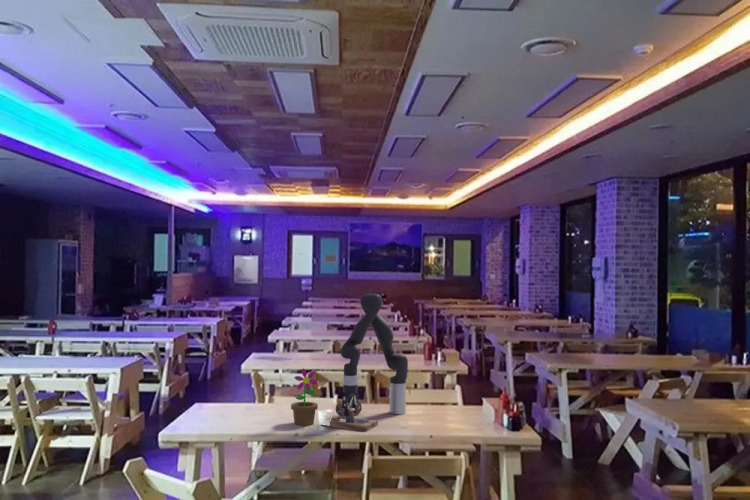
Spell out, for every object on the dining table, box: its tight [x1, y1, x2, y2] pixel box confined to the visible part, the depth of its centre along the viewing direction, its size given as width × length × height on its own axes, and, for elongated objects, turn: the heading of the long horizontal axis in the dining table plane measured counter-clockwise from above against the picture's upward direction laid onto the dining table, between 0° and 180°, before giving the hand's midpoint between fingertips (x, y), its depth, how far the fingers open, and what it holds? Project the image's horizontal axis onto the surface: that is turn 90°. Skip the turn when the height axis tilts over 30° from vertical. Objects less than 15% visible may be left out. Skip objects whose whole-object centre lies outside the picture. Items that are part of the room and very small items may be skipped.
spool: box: [344, 408, 355, 423], centre depth 347 cm, size 5×5×9 cm
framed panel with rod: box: [330, 414, 379, 432], centre depth 347 cm, size 14×26×2 cm, turn 65°
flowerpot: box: [290, 368, 319, 427], centre depth 349 cm, size 14×14×30 cm
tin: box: [335, 400, 363, 417], centre depth 369 cm, size 15×3×8 cm, turn 112°
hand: (350, 414), depth 347 cm, fingers open, 8 cm apart
